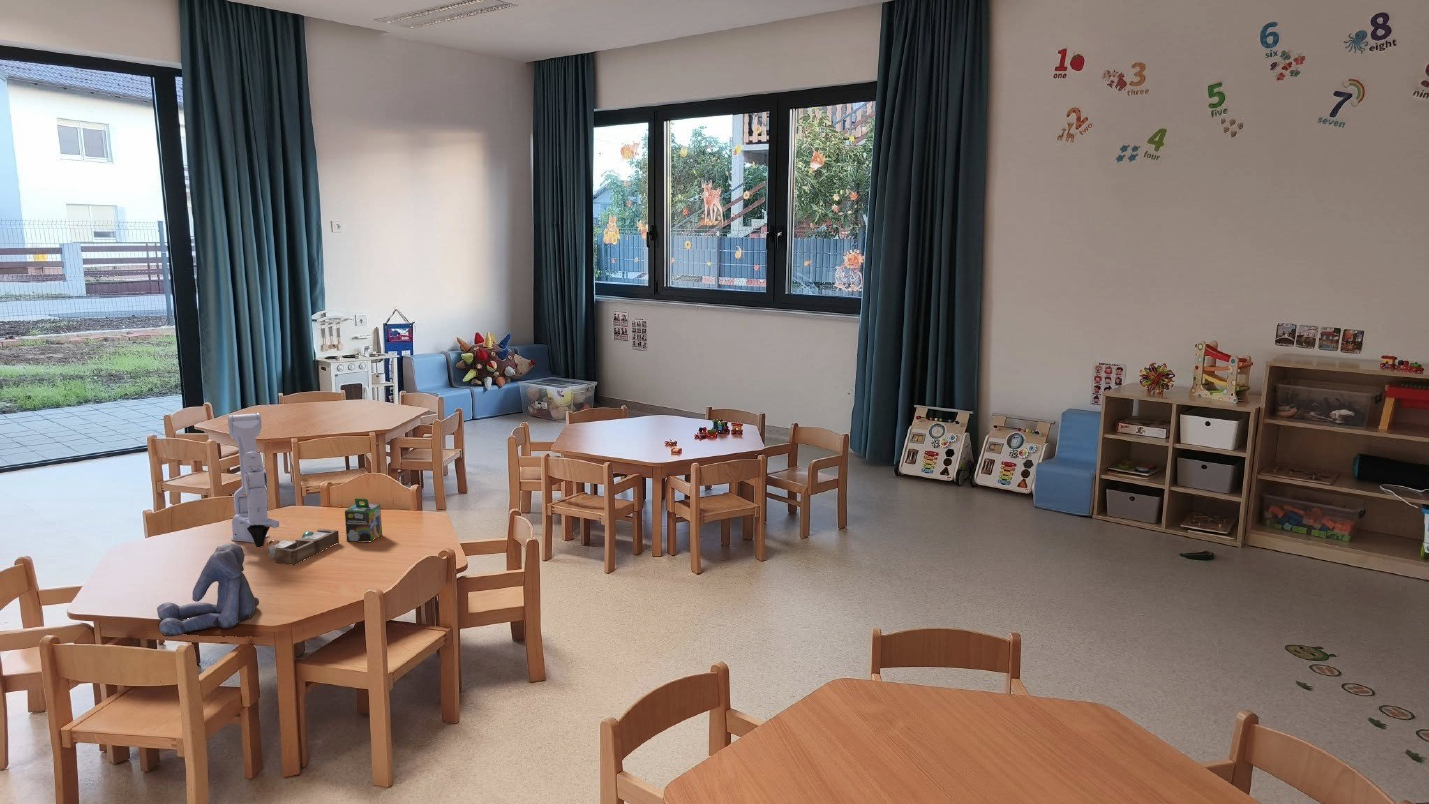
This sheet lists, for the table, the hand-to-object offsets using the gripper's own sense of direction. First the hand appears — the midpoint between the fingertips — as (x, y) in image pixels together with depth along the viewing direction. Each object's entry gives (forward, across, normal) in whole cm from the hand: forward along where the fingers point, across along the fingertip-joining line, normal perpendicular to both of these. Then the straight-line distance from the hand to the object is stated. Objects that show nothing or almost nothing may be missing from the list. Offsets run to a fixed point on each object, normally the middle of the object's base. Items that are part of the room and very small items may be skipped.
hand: (259, 546), depth 306 cm
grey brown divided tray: (+3, +14, +6) cm, 16 cm away
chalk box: (+3, +22, +25) cm, 33 cm away
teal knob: (+2, +13, +11) cm, 17 cm away
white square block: (+2, +8, 0) cm, 8 cm away
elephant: (+3, +24, -49) cm, 55 cm away
